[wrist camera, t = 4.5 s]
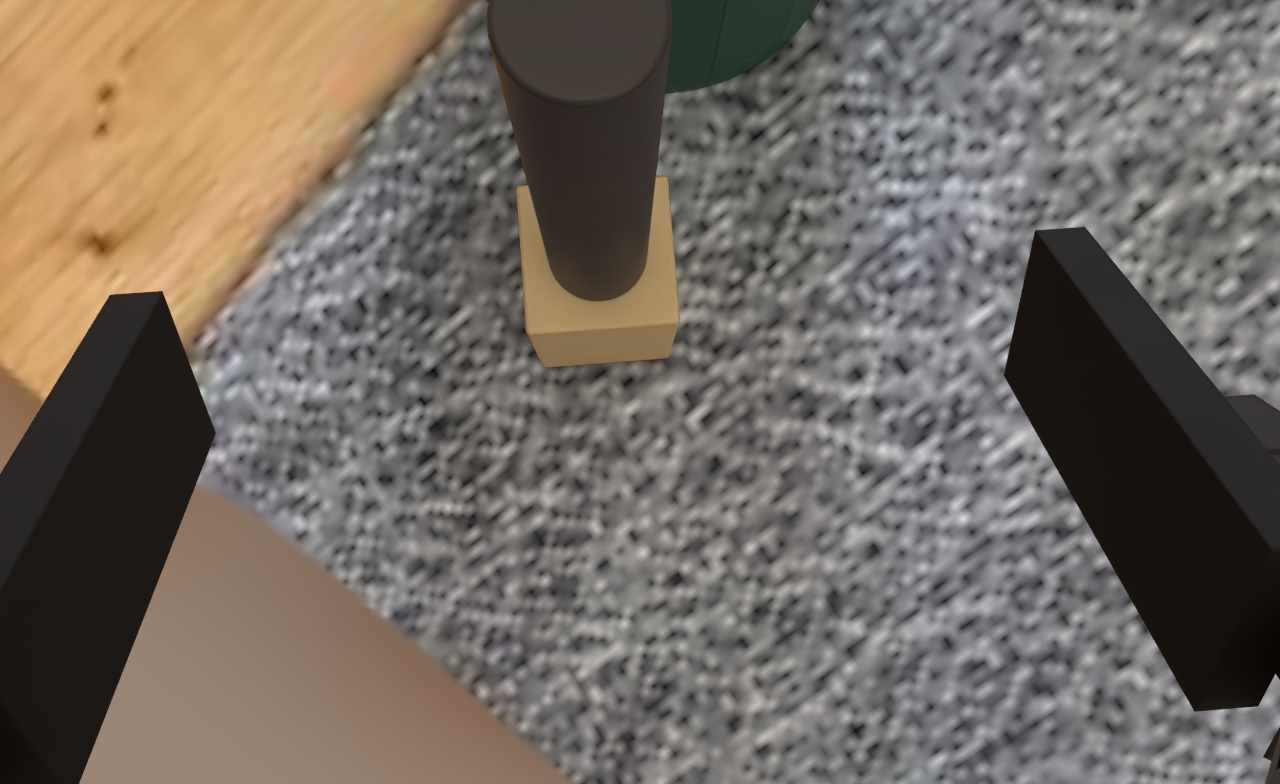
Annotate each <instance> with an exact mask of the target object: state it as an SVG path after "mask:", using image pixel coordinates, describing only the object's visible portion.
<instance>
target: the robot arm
mask: <svg viewBox="0 0 1280 784" xmlns="http://www.w3.org/2000/svg"><path fill="white" fill-rule="evenodd" d="M1004 376H1005V378H1006V380H1007V382H1008V384H1009V385H1010V387H1011V389H1012V391H1013V392H1014V394H1015V396H1016V398H1017V399H1018V401H1019V403H1020V405H1021V406H1022V408H1023V410H1024V412H1025V413H1026V415H1027V417H1028V419H1029V421H1030V422H1031V424H1032V426H1033V428H1034V429H1035V431H1036V433H1037V435H1038V436H1039V438H1040V440H1041V442H1042V443H1043V445H1044V447H1045V449H1046V450H1047V452H1048V454H1049V456H1050V458H1051V459H1052V461H1053V463H1054V465H1055V466H1056V468H1057V470H1058V472H1059V473H1060V475H1061V477H1062V479H1063V480H1064V482H1065V484H1066V486H1067V487H1068V489H1069V491H1070V493H1071V495H1072V496H1073V498H1074V500H1075V502H1076V503H1077V505H1078V507H1079V509H1080V510H1081V512H1082V514H1083V516H1084V517H1085V519H1086V521H1087V523H1088V524H1089V526H1090V528H1091V530H1092V532H1093V533H1094V535H1095V537H1096V539H1097V540H1098V542H1099V544H1100V546H1101V547H1102V549H1103V551H1104V553H1105V554H1106V556H1107V558H1108V560H1109V561H1110V563H1111V565H1112V567H1113V569H1114V570H1115V572H1116V574H1117V576H1118V577H1119V579H1120V581H1121V583H1122V584H1123V586H1124V588H1125V590H1126V591H1127V593H1128V595H1129V597H1130V599H1131V600H1132V602H1133V604H1134V606H1135V607H1136V609H1137V611H1138V613H1139V614H1140V616H1141V618H1142V620H1143V621H1144V623H1145V625H1146V627H1147V628H1148V630H1149V632H1150V634H1151V636H1152V637H1153V639H1154V641H1155V643H1156V644H1157V646H1158V648H1159V650H1160V651H1161V653H1162V655H1163V657H1164V658H1165V660H1166V662H1167V664H1168V665H1169V667H1170V669H1171V671H1172V673H1173V674H1174V676H1175V678H1176V680H1177V681H1178V683H1179V685H1180V687H1181V688H1182V690H1183V692H1184V694H1185V695H1186V697H1187V699H1188V701H1189V702H1190V704H1191V706H1192V708H1193V710H1194V711H1207V710H1219V709H1231V708H1243V707H1255V706H1259V704H1260V702H1261V700H1262V698H1263V696H1264V694H1265V692H1266V690H1267V689H1268V687H1269V685H1270V683H1271V681H1272V679H1273V677H1274V675H1275V673H1276V675H1277V676H1278V678H1279V679H1280V411H1279V410H1277V409H1276V408H1274V407H1273V406H1271V405H1269V404H1268V403H1266V402H1265V401H1263V400H1262V399H1260V398H1258V397H1257V396H1255V395H1241V396H1227V397H1224V396H1223V395H1222V394H1221V392H1220V391H1219V390H1218V389H1217V387H1216V386H1215V385H1214V384H1213V383H1212V381H1211V380H1210V379H1209V378H1208V377H1207V375H1206V374H1205V373H1204V372H1203V370H1202V369H1201V368H1200V367H1199V366H1198V364H1197V363H1196V362H1195V361H1194V359H1193V358H1192V357H1191V356H1190V355H1189V353H1188V352H1187V351H1186V350H1185V349H1184V347H1183V346H1182V345H1181V344H1180V342H1179V341H1178V340H1177V339H1176V338H1175V336H1174V335H1173V334H1172V333H1171V331H1170V330H1169V329H1168V328H1167V327H1166V325H1165V324H1164V323H1163V322H1162V320H1161V319H1160V318H1159V317H1158V316H1157V314H1156V313H1155V312H1154V311H1153V310H1152V308H1151V307H1150V306H1149V305H1148V303H1147V302H1146V301H1145V300H1144V299H1143V297H1142V296H1141V295H1140V294H1139V292H1138V291H1137V290H1136V289H1135V288H1134V286H1133V285H1132V284H1131V283H1130V282H1129V280H1128V279H1127V278H1126V277H1125V275H1124V274H1123V273H1122V272H1121V271H1120V269H1119V268H1118V267H1117V266H1116V264H1115V263H1114V262H1113V261H1112V260H1111V258H1110V257H1109V256H1108V255H1107V254H1106V252H1105V251H1104V250H1103V249H1102V247H1101V246H1100V245H1099V244H1098V243H1097V241H1096V240H1095V239H1094V238H1093V236H1092V235H1091V234H1090V233H1089V232H1088V230H1087V229H1086V228H1085V227H1079V228H1064V229H1050V230H1036V231H1035V233H1034V238H1033V243H1032V247H1031V252H1030V257H1029V261H1028V266H1027V271H1026V275H1025V280H1024V284H1023V289H1022V294H1021V298H1020V303H1019V308H1018V312H1017V317H1016V322H1015V326H1014V331H1013V335H1012V340H1011V345H1010V349H1009V354H1008V359H1007V363H1006V368H1005V373H1004ZM215 434H216V433H215V430H214V427H213V425H212V422H211V419H210V417H209V414H208V411H207V409H206V406H205V403H204V401H203V398H202V395H201V393H200V390H199V388H198V385H197V382H196V380H195V377H194V374H193V372H192V369H191V366H190V364H189V361H188V358H187V356H186V353H185V350H184V348H183V345H182V342H181V340H180V337H179V334H178V332H177V329H176V326H175V324H174V321H173V318H172V316H171V313H170V310H169V308H168V305H167V302H166V300H165V297H164V295H163V292H162V291H158V292H144V293H130V294H115V295H110V296H109V297H108V299H107V301H106V302H105V304H104V306H103V307H102V309H101V310H100V312H99V314H98V315H97V317H96V319H95V320H94V322H93V324H92V325H91V327H90V328H89V330H88V332H87V333H86V335H85V337H84V338H83V340H82V341H81V343H80V345H79V346H78V348H77V350H76V351H75V353H74V355H73V356H72V358H71V359H70V361H69V363H68V364H67V366H66V368H65V369H64V371H63V372H62V374H61V376H60V377H59V379H58V381H57V382H56V384H55V386H54V387H53V389H52V390H51V392H50V394H49V395H48V397H47V399H46V400H45V402H44V403H43V405H42V407H41V408H40V410H39V412H38V413H37V415H36V417H35V418H34V420H33V421H32V423H31V425H30V427H29V428H28V430H27V432H26V433H25V435H24V436H23V438H22V439H21V441H20V443H19V444H18V446H17V448H16V449H15V451H14V453H13V454H12V456H11V457H10V459H9V461H8V462H7V464H6V466H5V467H4V469H3V471H2V472H1V474H0V784H79V782H80V780H81V777H82V774H83V772H84V769H85V767H86V764H87V762H88V759H89V757H90V754H91V751H92V749H93V746H94V744H95V741H96V739H97V736H98V734H99V731H100V728H101V726H102V723H103V721H104V718H105V716H106V713H107V710H108V708H109V705H110V703H111V700H112V698H113V695H114V692H115V690H116V687H117V685H118V682H119V680H120V677H121V674H122V672H123V669H124V667H125V664H126V662H127V659H128V657H129V654H130V652H131V649H132V646H133V644H134V641H135V639H136V636H137V634H138V631H139V629H140V626H141V623H142V621H143V618H144V616H145V613H146V611H147V608H148V605H149V603H150V600H151V598H152V595H153V592H154V590H155V588H156V585H157V582H158V580H159V577H160V575H161V572H162V570H163V567H164V564H165V562H166V559H167V556H168V554H169V552H170V549H171V546H172V544H173V541H174V539H175V536H176V534H177V531H178V529H179V526H180V524H181V521H182V518H183V516H184V513H185V511H186V508H187V506H188V503H189V500H190V498H191V495H192V493H193V490H194V488H195V485H196V483H197V480H198V477H199V475H200V472H201V470H202V467H203V465H204V462H205V459H206V457H207V454H208V452H209V449H210V447H211V444H212V442H213V439H214V436H215ZM1263 757H1264V758H1267V759H1269V760H1271V761H1272V762H1271V765H1270V768H1269V772H1268V775H1267V778H1266V782H1265V784H1280V728H1279V729H1278V731H1277V733H1276V735H1275V737H1274V738H1273V740H1272V742H1271V744H1270V746H1269V747H1268V749H1267V751H1266V753H1265V754H1264V756H1263Z"/></svg>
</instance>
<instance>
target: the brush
mask: <svg viewBox="0 0 1280 784" xmlns="http://www.w3.org/2000/svg"><path fill="white" fill-rule="evenodd" d="M487 30H488V37H489V41H490V45H491V48H492V52H493V56H494V60H495V64H496V67H497V71H498V75H499V79H500V82H501V86H502V90H503V94H504V97H505V101H506V105H507V109H508V112H509V116H510V120H511V124H512V127H513V131H514V135H515V139H516V142H517V146H518V150H519V154H520V157H521V161H522V165H523V169H524V172H525V176H526V180H527V184H528V185H526V186H519V187H518V188H517V190H516V191H517V206H518V221H519V235H520V250H521V265H522V280H523V295H524V310H525V324H526V332H527V334H528V336H529V339H530V341H531V343H532V345H533V347H534V349H535V351H536V353H537V355H538V357H539V359H540V362H541V364H542V366H543V367H558V366H571V365H585V364H598V363H611V362H624V361H638V360H651V359H664V358H668V357H669V354H670V351H671V348H672V344H673V341H674V338H675V334H676V331H677V328H678V324H679V321H680V315H679V303H678V291H677V280H676V268H675V256H674V245H673V233H672V221H671V210H670V198H669V186H668V179H667V177H666V176H656V171H657V162H658V152H659V143H660V134H661V125H662V115H663V106H664V97H665V88H666V78H667V69H668V60H669V51H670V41H671V32H672V9H671V3H670V0H489V2H488V9H487Z"/></svg>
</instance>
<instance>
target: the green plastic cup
mask: <svg viewBox="0 0 1280 784" xmlns="http://www.w3.org/2000/svg"><path fill="white" fill-rule="evenodd" d="M487 1H488V2H489V0H487ZM818 1H819V0H670V3H671V9H672V32H671V41H670V51H669V60H668V69H667V78H666V88H665V93H673V92H680V91H687V90H694V89H698V88H702V87H705V86H709V85H713V84H716V83H720V82H722V81H724V80H727V79H729V78H732V77H734V76H736V75H739V74H741V73H743V72H745V71H747V70H748V69H750V68H752V67H754V66H755V65H757V64H759V63H760V62H762V61H764V60H765V59H766V58H768V57H769V56H770V55H771V54H773V53H774V52H775V51H777V50H778V49H779V48H781V47H782V46H783V45H784V44H785V43H786V42H787V41H788V40H789V39H790V38H791V37H792V36H793V35H794V34H795V33H796V32H797V31H798V30H799V29H800V27H801V26H802V25H803V23H804V22H805V21H806V19H807V18H808V17H809V15H810V14H811V13H812V11H813V10H814V8H815V6H816V4H817V3H818Z"/></svg>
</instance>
